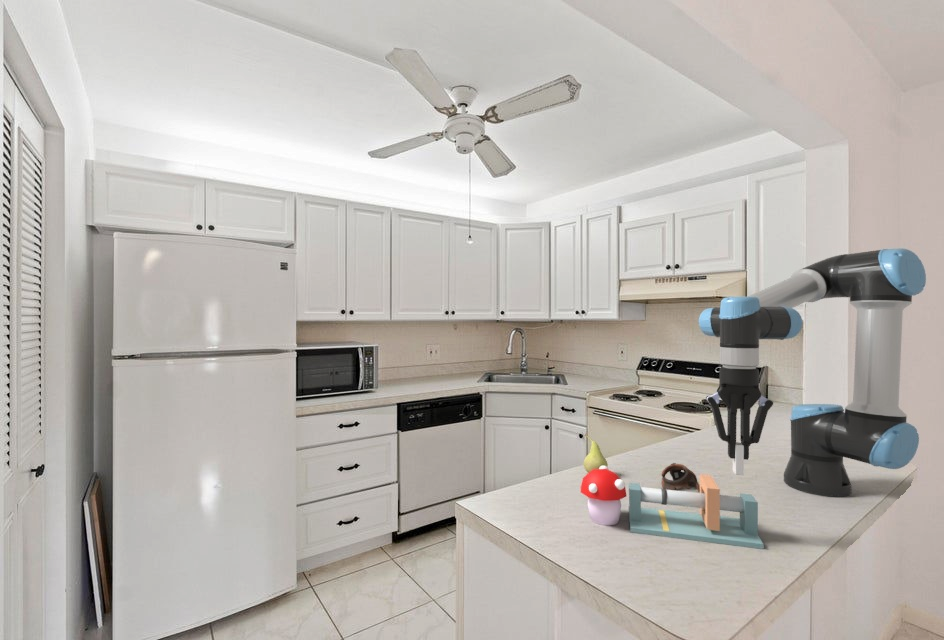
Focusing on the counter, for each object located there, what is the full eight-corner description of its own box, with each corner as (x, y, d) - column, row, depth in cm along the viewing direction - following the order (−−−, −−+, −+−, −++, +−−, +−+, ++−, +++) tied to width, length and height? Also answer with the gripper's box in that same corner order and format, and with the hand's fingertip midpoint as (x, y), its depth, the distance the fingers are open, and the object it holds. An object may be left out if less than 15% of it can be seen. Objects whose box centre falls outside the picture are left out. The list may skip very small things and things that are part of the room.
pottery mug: (709, 499, 120) (698, 475, 118) (675, 512, 122) (663, 489, 120) (690, 472, 131) (680, 450, 130) (660, 485, 133) (649, 463, 131)
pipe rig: (746, 523, 105) (746, 488, 105) (763, 549, 93) (763, 509, 93) (628, 509, 113) (628, 477, 112) (630, 532, 101) (630, 495, 101)
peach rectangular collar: (710, 513, 106) (710, 475, 106) (719, 531, 97) (719, 489, 97) (699, 512, 106) (699, 474, 106) (707, 529, 98) (707, 488, 98)
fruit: (599, 481, 132) (599, 440, 132) (577, 474, 138) (577, 435, 138) (611, 475, 137) (611, 436, 136) (590, 469, 142) (590, 431, 142)
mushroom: (620, 534, 100) (620, 480, 100) (573, 522, 106) (573, 471, 106) (631, 515, 109) (631, 466, 109) (587, 506, 115) (587, 459, 115)
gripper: (767, 366, 101) (766, 470, 101) (703, 364, 105) (702, 465, 105) (779, 369, 94) (778, 482, 94) (709, 367, 98) (708, 475, 98)
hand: (738, 473), depth 100 cm, fingers closed
